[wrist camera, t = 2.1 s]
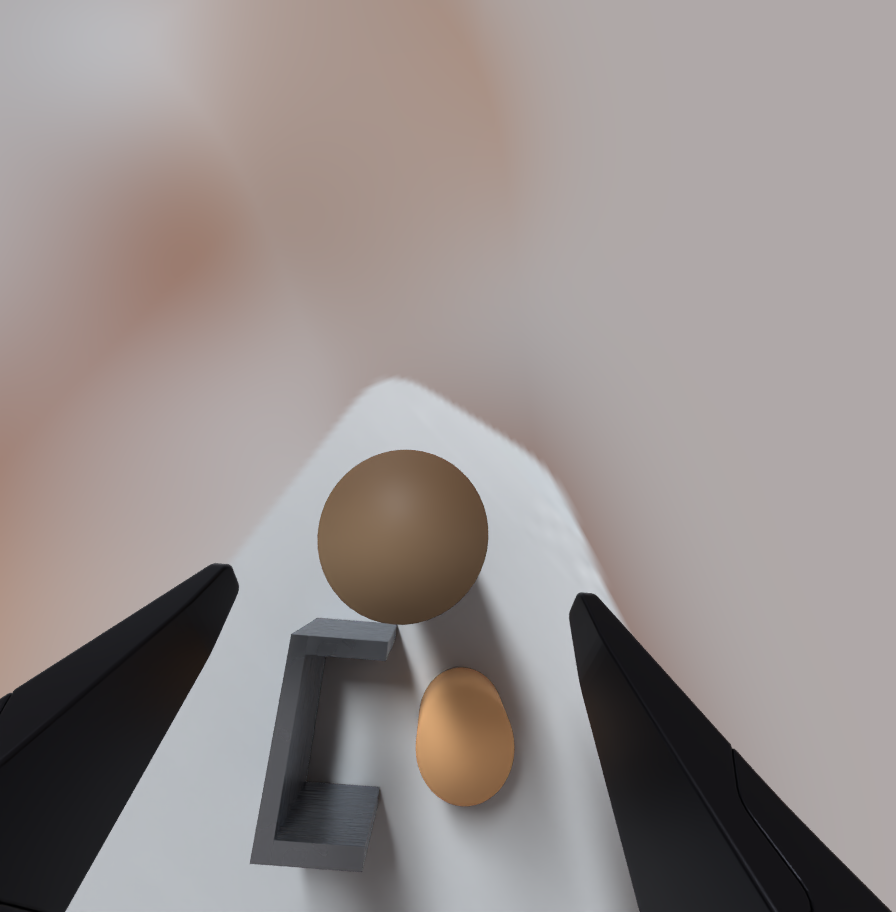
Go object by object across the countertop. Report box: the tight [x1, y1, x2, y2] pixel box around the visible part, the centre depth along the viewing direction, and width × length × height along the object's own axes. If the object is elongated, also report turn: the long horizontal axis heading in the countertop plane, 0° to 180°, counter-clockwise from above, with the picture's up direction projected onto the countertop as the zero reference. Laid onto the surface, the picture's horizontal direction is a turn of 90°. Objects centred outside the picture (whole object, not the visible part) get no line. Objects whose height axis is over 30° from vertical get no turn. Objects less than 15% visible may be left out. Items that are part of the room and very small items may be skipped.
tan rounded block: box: [416, 667, 514, 806], centre depth 14 cm, size 4×4×2 cm
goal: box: [250, 618, 397, 872], centre depth 14 cm, size 7×4×3 cm, turn 176°
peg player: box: [318, 450, 488, 625], centre depth 12 cm, size 4×4×11 cm
